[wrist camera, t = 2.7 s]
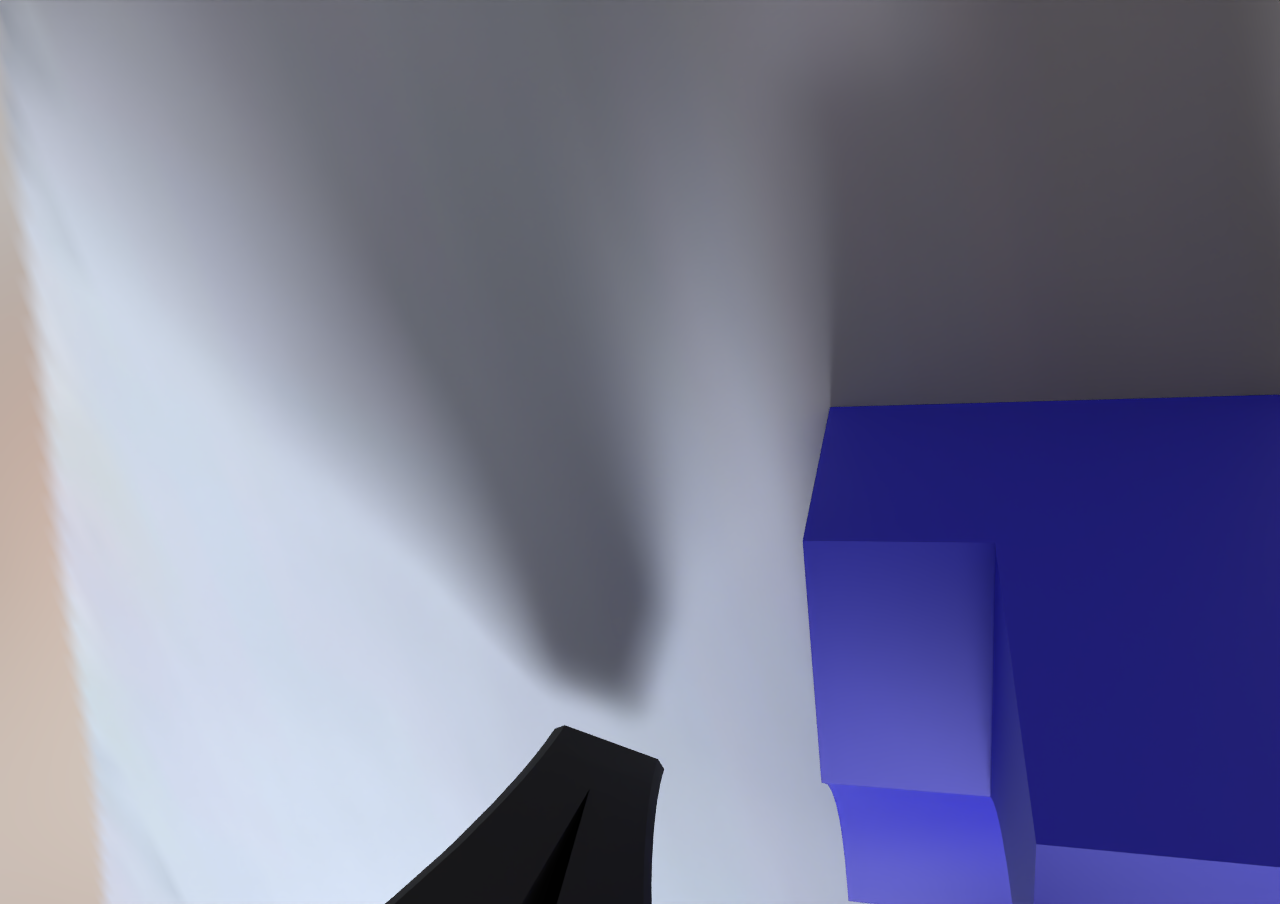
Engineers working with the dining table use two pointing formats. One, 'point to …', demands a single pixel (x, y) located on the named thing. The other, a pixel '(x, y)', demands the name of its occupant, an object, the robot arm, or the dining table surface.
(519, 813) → the robot arm
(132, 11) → the dining table surface
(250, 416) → the dining table surface
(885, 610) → the cable clip
